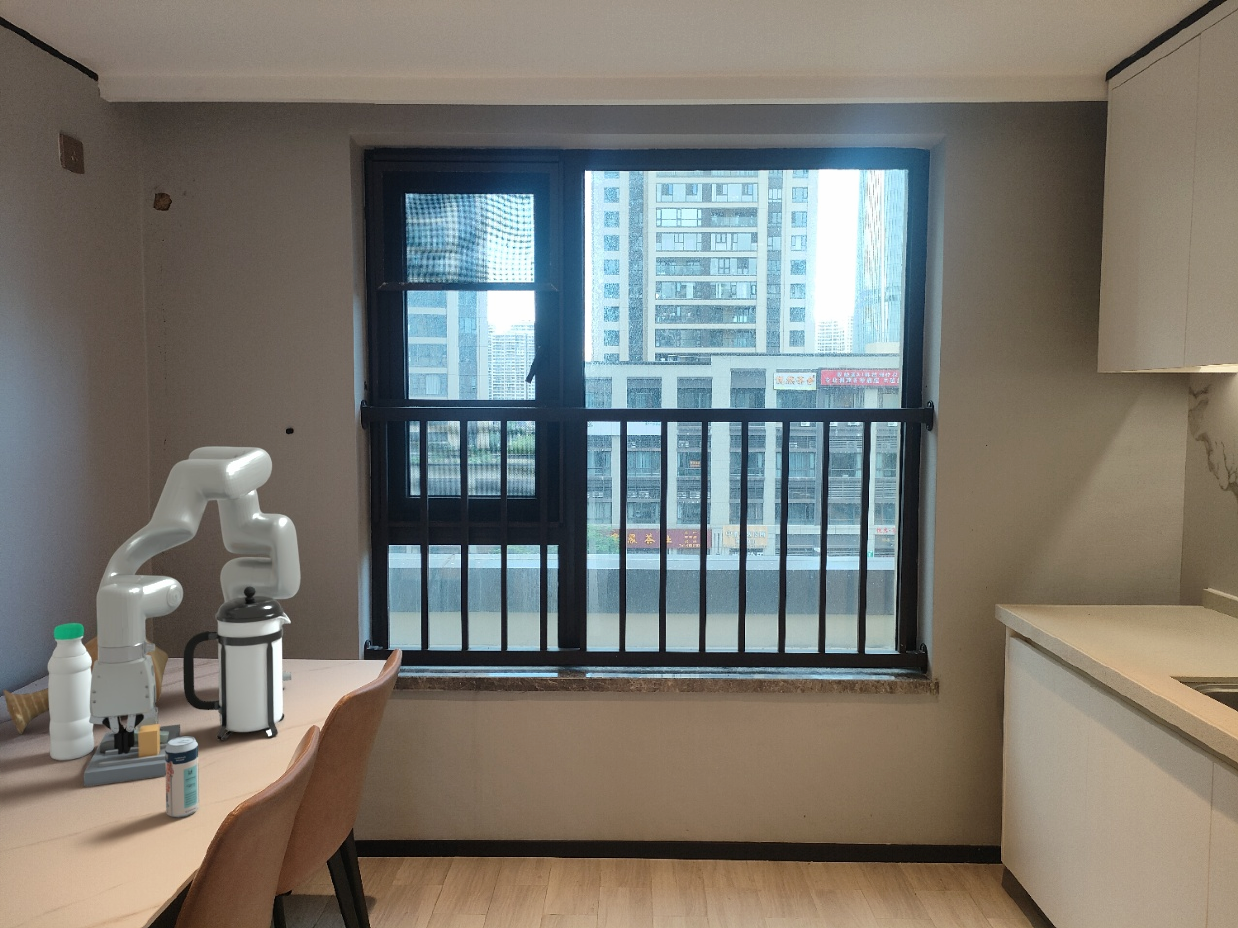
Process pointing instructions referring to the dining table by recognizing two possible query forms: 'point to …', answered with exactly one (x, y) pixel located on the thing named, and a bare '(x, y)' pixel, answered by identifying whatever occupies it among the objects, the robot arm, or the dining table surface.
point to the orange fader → (149, 740)
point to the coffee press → (244, 665)
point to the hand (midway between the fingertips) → (124, 751)
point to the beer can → (182, 776)
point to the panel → (126, 761)
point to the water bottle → (70, 695)
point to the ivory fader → (149, 721)
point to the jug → (38, 702)
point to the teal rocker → (162, 735)
